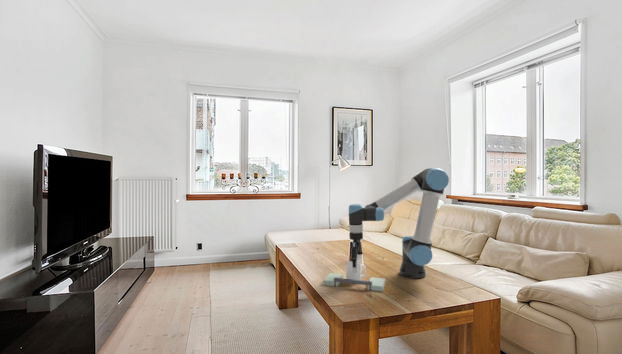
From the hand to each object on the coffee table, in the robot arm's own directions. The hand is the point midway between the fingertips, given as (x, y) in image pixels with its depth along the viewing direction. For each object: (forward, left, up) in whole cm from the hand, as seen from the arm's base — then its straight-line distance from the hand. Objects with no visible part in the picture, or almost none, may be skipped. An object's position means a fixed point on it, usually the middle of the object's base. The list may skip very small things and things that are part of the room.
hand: (357, 269), depth 182 cm
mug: (0, -1, -7) cm, 7 cm away
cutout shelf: (+1, +4, -7) cm, 8 cm away
